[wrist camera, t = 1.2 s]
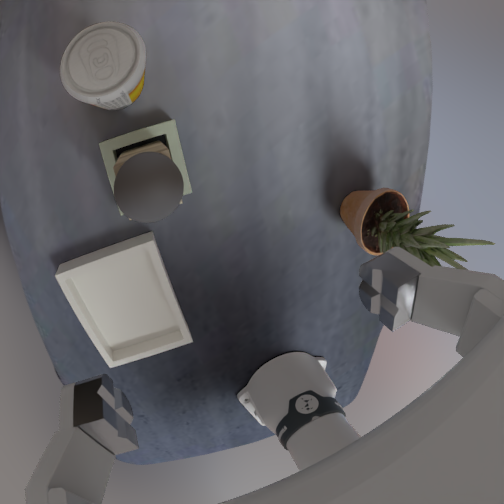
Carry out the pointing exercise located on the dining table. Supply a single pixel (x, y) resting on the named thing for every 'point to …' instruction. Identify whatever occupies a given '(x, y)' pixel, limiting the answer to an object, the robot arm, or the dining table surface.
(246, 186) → the dining table surface
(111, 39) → the orange pill bottle
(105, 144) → the socket block
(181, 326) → the tray
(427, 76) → the dining table surface
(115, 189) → the wooden pepper mill
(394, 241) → the potted plant
